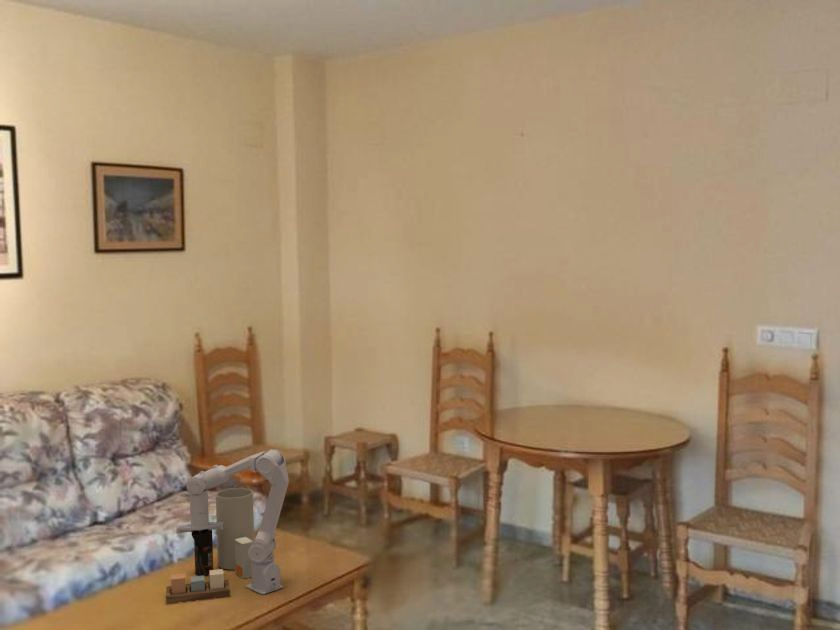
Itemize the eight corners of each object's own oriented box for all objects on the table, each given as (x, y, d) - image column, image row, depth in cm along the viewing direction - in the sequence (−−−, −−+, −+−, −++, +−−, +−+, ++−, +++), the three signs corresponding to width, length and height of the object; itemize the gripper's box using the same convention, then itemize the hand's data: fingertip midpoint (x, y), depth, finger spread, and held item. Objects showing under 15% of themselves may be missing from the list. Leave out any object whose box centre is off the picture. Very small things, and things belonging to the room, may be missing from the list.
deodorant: (208, 576, 274) (207, 532, 273) (191, 575, 275) (190, 531, 274) (216, 570, 280) (215, 526, 279) (200, 569, 281) (198, 525, 280)
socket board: (229, 596, 257) (229, 589, 257) (166, 604, 252) (166, 597, 252) (228, 586, 266) (228, 579, 266) (166, 593, 260) (166, 586, 260)
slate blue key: (205, 594, 257) (204, 580, 257) (191, 596, 256) (190, 581, 256) (204, 589, 261) (204, 575, 261) (191, 591, 260) (190, 576, 260)
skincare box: (235, 574, 276) (234, 539, 275) (246, 571, 279) (245, 536, 278) (242, 579, 271) (242, 543, 270) (254, 576, 274) (253, 541, 273)
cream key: (224, 587, 259) (223, 573, 258) (210, 589, 258) (209, 575, 257) (223, 583, 263) (222, 568, 262) (209, 584, 262) (209, 570, 261)
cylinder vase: (262, 561, 287) (260, 491, 286) (236, 573, 277) (234, 500, 275) (236, 555, 294) (234, 486, 292) (209, 566, 283) (208, 494, 282)
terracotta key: (185, 592, 256) (185, 577, 255) (171, 594, 254) (171, 579, 254) (185, 587, 260) (185, 573, 259) (171, 589, 258) (171, 574, 258)
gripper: (221, 505, 272) (222, 546, 273) (175, 510, 268) (177, 551, 269) (222, 512, 265) (224, 553, 266) (175, 516, 261) (177, 558, 262)
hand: (200, 552), depth 267 cm, fingers closed
